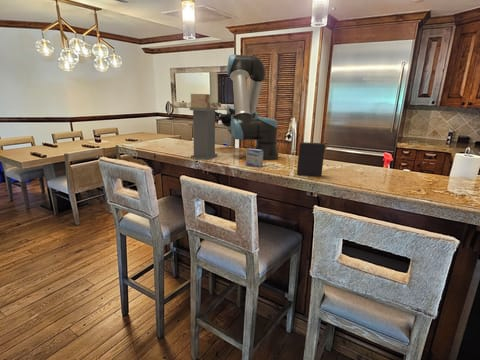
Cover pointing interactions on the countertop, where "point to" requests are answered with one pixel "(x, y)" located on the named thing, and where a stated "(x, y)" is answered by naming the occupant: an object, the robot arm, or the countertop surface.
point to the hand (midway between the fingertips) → (216, 105)
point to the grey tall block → (204, 132)
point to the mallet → (202, 101)
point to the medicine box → (254, 157)
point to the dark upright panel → (310, 159)
